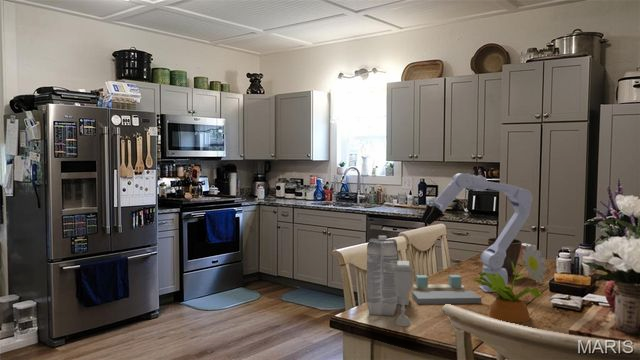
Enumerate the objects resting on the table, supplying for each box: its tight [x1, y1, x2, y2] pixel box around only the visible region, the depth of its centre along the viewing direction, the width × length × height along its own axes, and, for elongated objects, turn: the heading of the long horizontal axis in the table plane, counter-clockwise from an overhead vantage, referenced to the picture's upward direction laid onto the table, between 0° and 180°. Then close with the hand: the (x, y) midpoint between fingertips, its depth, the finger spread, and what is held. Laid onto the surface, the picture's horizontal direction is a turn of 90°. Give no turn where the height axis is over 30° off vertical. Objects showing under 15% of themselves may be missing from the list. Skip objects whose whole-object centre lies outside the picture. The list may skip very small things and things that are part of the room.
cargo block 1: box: [415, 274, 429, 287], centre depth 202 cm, size 4×4×4 cm
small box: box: [517, 242, 537, 268], centre depth 252 cm, size 8×6×10 cm
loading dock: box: [411, 290, 482, 305], centre depth 192 cm, size 24×10×2 cm, turn 92°
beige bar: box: [412, 283, 466, 291], centre depth 202 cm, size 20×5×3 cm, turn 92°
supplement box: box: [397, 260, 411, 306], centre depth 189 cm, size 9×9×15 cm
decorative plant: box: [473, 243, 548, 323], centre depth 172 cm, size 27×24×25 cm
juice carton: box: [366, 235, 398, 317], centre depth 175 cm, size 9×10×27 cm
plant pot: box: [487, 237, 523, 277], centre depth 232 cm, size 15×15×16 cm
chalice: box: [393, 267, 415, 327], centre depth 164 cm, size 7×7×18 cm
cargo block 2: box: [448, 274, 462, 287], centre depth 202 cm, size 4×4×4 cm
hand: (424, 222), depth 203 cm, fingers open, 7 cm apart
